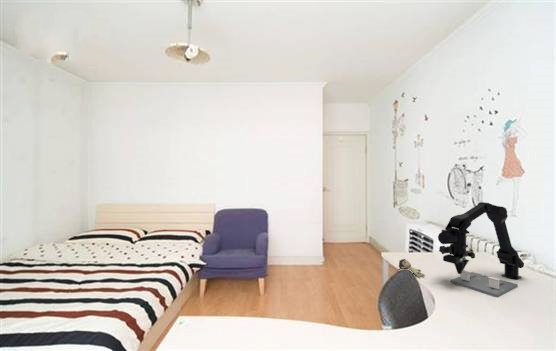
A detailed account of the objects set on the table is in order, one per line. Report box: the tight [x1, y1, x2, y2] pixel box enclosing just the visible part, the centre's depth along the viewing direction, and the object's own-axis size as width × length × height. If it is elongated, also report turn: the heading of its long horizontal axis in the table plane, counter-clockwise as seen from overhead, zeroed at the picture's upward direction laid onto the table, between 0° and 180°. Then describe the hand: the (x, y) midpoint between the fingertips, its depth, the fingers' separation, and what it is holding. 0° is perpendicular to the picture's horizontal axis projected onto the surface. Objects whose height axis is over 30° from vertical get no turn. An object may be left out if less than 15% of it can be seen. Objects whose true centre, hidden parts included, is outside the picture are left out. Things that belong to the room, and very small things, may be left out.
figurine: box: [398, 258, 426, 279], centre depth 153 cm, size 8×6×15 cm
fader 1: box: [459, 269, 471, 281], centre depth 140 cm, size 2×4×4 cm, turn 30°
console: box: [449, 271, 519, 298], centre depth 137 cm, size 22×20×2 cm
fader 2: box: [488, 276, 501, 289], centre depth 130 cm, size 2×4×4 cm, turn 30°
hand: (459, 273), depth 137 cm, fingers closed
